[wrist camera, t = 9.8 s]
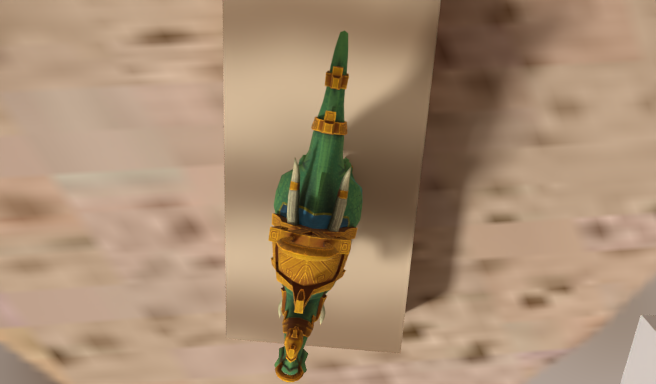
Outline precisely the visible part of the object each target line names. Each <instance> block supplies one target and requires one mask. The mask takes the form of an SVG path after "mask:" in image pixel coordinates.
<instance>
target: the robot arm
mask: <svg viewBox="0 0 656 384" xmlns="http://www.w3.org/2000/svg"><path fill="white" fill-rule="evenodd" d="M621 384H656V316H654V315H653V316H652V315H641V317H640V320H639V323H638V327H637V330H636V333H635V337H634V340H633V343H632V347H631V350H630V353H629V357H628V360H627V363H626V367H625V370H624V373H623V377H622V380H621Z"/></svg>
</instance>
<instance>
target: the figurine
mask: <svg viewBox="0 0 656 384" xmlns="http://www.w3.org/2000/svg"><path fill="white" fill-rule="evenodd" d="M347 63H348V33H347V32H346V31H345V30H344V31H342V32H340V34H339V37H338V40H337V43H336V46H335V50H334V54H333V58H332V62H331V66H330V70H328V71H327V72H326V77H325V86H327V87H326V91H325V95H324V99H323V103H322V105H321V108H320V111H319V114H318V117H316V116H315V118H314V121H313V124H312V126H311V129H312V130H314V131H313V134H312V139H311V143H310V147H309V151H308V153H307V154H306V155H303V156H302V157H301V158H300V160H299V164H298V163H297V161H296V158H295V160H294V166H293V169H292V170H290V171H288V172H286V173H285V174H283V175H282V176H281V178H280V181H279V184H278V187H277V190H276V194H275V200H274V209H275V213H272V225H273V227H270V232H269V239H268V241H271V242H272V248H273V257H272V258H271V262H272V266H273V267H274V269H275V270H276V279H277V281H278V282H280V283H281V284H282V286H283V287H282V288H281V292H282V299H281V301H280V303H279V305H278V313H279V318H280V316H281V314H282V315H283V316H284V319H283V322H282V326H283V333H284V345H285V346H284V347H282V348H279V358H278V360H277V361H276V363H275V367H276V368H275V371H276V374H277V376H278V377H279V378H280V379H281V380H283V381H286V382H294V381H297V380H299V379H300V378H301V377H302V376H303V374H304V373H305V372H306V370H307V369H306V366H305V360H306V358H307V356H308V353H307V352H306V351H305V350H304V349H303V348H304V346H305V343H306V341H307V338H308V337H309V336H310V335H311V332H312V330H313V328H314V322H316V321H317V320H318V319H319V317H320V325H321V323H322V321H323V320H324V317H325V307H324V302H325V300H326V298H327V295H326V293H327V292H328V291H329V290H331V289H332V287H333V286H334V284H335V283H336V281H337V280H339V279H340V278H342V277H343V275H344V273H345V271H346V270H344V267H345V264H346V261H347V258H348V255H349V253H350V250H351V243H352V239H355V237H356V233H357V229H358V228H357V227H356V226H357V225H358V223H359V221H360V219H361V211H362V203H363V198H362V187H361V186H360V185H359V184H357V182H356V181H355V179H354V177H353V174H352V173H353V166H352V165H351V163H350V162H349V159H347V158H346V157H345V158H344V159H343V147H344V135H347V122H346V121H344V97H345V89H346V88H347V84H348V79H349V74H348V73H347ZM285 373H286V374H285ZM287 374H288V375H287Z"/></svg>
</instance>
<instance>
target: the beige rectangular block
mask: <svg viewBox="0 0 656 384" xmlns="http://www.w3.org/2000/svg"><path fill="white" fill-rule="evenodd" d="M440 4H441V0H223V81H224V174H225V268H226V339H235V340H247V341H259V342H271V343H283V344H284V333H283V326H282V322H283V319H284V316H283V315H282V314H281V316H280V318H279V313H278V305H279V303H280V301H281V299H282V292H281V288H282V287H283V286H282V284H281V283H280V282H278V281H277V279H276V270H275V269H274V267H273V266H272V262H271V258H272V257H273V248H272V242H271V241H268V239H269V232H270V227H273V225H272V213H275V209H274V200H275V194H276V190H277V187H278V184H279V181H280V178H281V176H282V175H283V174H285V173H286V172H288V171H290V170H292V169H293V166H294V160H295V158H296V161H297V163H298V164H299V160H300V158H301V157H302V156H303V155H306V154H307V153H308V151H309V147H310V143H311V139H312V134H313V131H314V130H312V129H311V126H312V124H313V121H314V118H315V116H316V117H318V114H319V111H320V108H321V105H322V103H323V99H324V95H325V91H326V87H327V86H325V77H326V72H327V71H328V70H330V66H331V62H332V58H333V54H334V50H335V46H336V43H337V40H338V37H339V34H340V32H342V31H344V30H345V31H346V32H347V33H348V63H347V73H348V74H349V79H348V84H347V88H346V89H345V97H344V121H346V122H347V135H344V147H343V159H344V158H345V157H346V158H347V159H349V162H350V163H351V165H352V166H353V173H352V174H353V177H354V179H355V181H356V182H357V184H359V185H360V186H361V187H362V198H363V203H362V211H361V219H360V221H359V223H358V225H357V226H356V227H357V228H358V229H357V233H356V237H355V239H352V243H351V250H350V253H349V255H348V258H347V261H346V264H345V267H344V270H346V271H345V273H344V275H343V277H342V278H340V279H339V280H337V281H336V283H335V284H334V286H333V287H332V289H331V290H329V291H328V292H327V293H326V295H327V298H326V300H325V302H324V307H325V317H324V320H323V321H322V323H321V325H320V317H319V319H318V320H317V321H316V322H314V328H313V330H312V332H311V335H310V336H309V337H308V338H307V341H306V343H305V345H307V346H319V347H331V348H343V349H355V350H366V351H378V352H390V353H400V352H401V343H402V334H403V326H404V317H405V308H406V300H407V291H408V282H409V274H410V265H411V256H412V247H413V239H414V230H415V221H416V213H417V204H418V195H419V187H420V178H421V169H422V161H423V152H424V143H425V134H426V126H427V117H428V108H429V100H430V91H431V82H432V74H433V65H434V56H435V47H436V39H437V30H438V21H439V13H440Z"/></svg>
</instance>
